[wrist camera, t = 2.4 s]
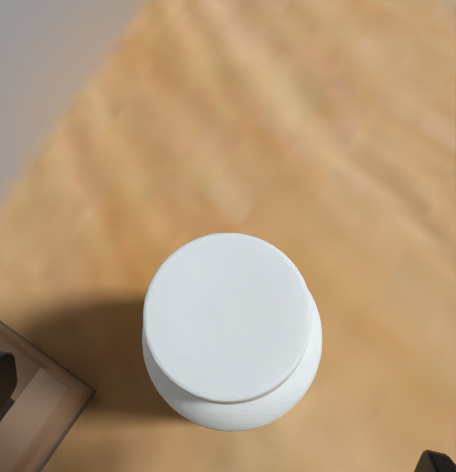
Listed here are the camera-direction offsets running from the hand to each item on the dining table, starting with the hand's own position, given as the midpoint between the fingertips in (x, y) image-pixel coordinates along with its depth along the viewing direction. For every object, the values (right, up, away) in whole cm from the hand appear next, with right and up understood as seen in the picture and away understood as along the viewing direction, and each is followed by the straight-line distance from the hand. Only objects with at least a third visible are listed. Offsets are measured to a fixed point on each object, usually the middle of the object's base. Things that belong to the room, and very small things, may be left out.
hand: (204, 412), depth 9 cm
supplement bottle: (+1, -2, +10) cm, 10 cm away
